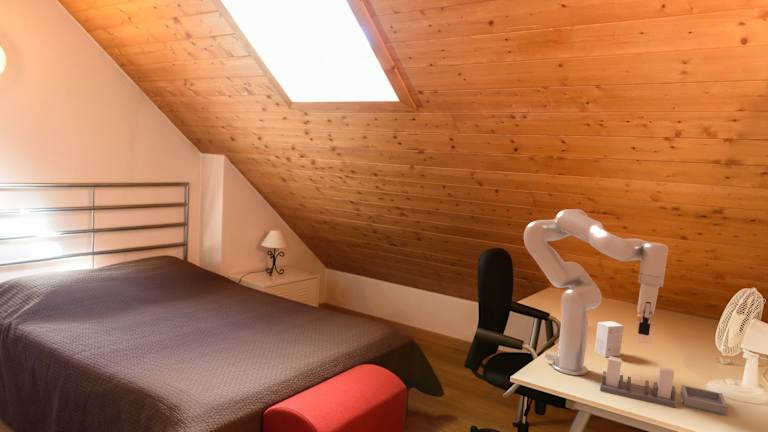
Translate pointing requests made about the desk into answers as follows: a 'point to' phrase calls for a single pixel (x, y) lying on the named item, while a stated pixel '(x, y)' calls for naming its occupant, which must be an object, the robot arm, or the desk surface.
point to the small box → (608, 339)
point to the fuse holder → (657, 394)
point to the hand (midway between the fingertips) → (643, 331)
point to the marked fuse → (642, 337)
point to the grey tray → (703, 400)
